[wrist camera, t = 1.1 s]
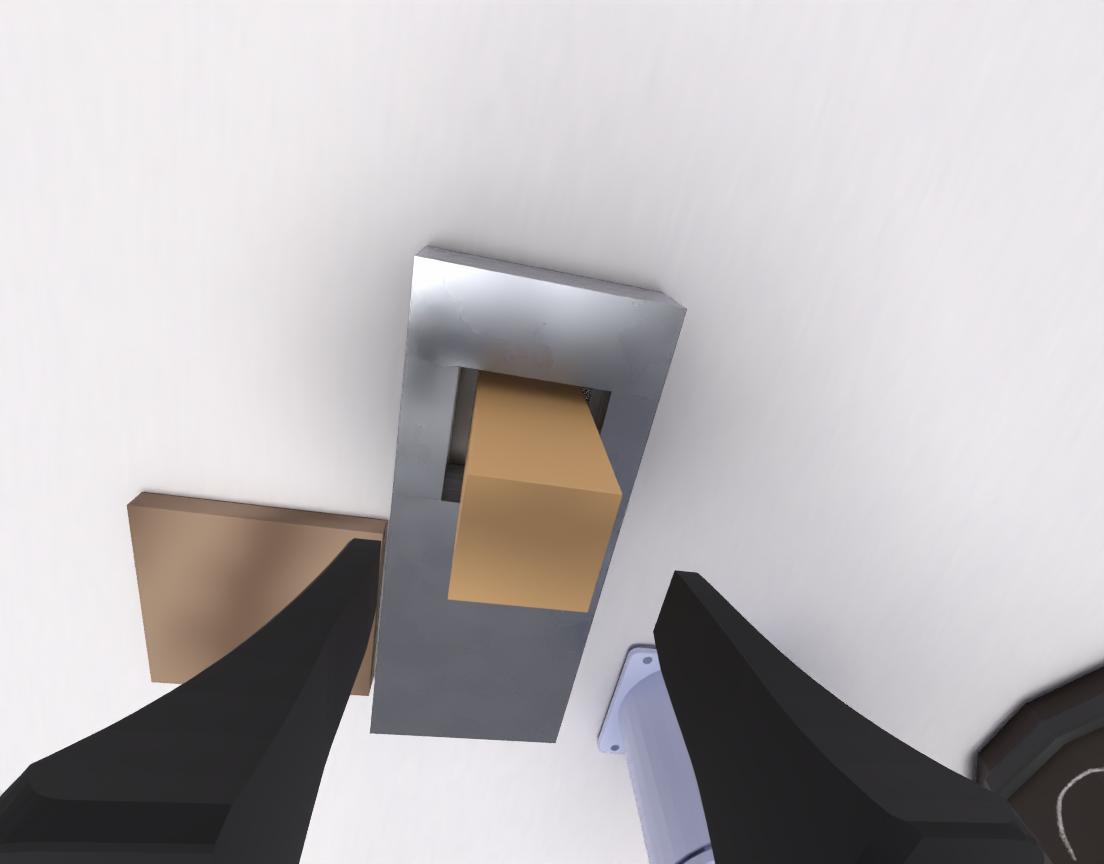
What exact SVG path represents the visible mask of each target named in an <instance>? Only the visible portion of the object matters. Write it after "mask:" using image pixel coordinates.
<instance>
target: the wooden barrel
mask: <svg viewBox="0 0 1104 864" xmlns="http://www.w3.org/2000/svg"><path fill="white" fill-rule="evenodd" d="M976 783H977V784H979V785H981V786H983V787H985V788H987V789H988V790H990V791H992V792H994V793H996V794H998V795H1000V796H1002V797H1003V798H1004V799H1005V800H1006V801H1007V803H1008V804H1009V805H1010V806H1011V808H1012V809H1013V810H1014V811H1015V813H1016V814H1017V815H1018V816H1019V817H1020V819H1021V820H1022V821H1023V822H1024V824H1025V825H1026V826H1027V827H1028V829H1029V830H1030V831H1031V832H1032V834H1033V835H1034V836H1035V837H1036V839H1037V840H1038V841H1039V842H1040V844H1041V845H1042V846H1043V849H1044V856H1045V859H1044V864H1104V667H1102V668H1100V669H1098V670H1096V671H1093V672H1091V673H1089V674H1087V675H1085V676H1083V677H1081V678H1079V679H1077V680H1075V681H1072V682H1070V683H1068V684H1066V685H1064V686H1062V687H1060V688H1058V689H1056V690H1054V691H1052V692H1049V693H1047V694H1045V695H1043V696H1041V697H1039V698H1037V699H1035V700H1033V701H1031V702H1028V703H1026V704H1025V705H1024V706H1023V707H1022V708H1021V709H1020V710H1019V711H1018V712H1017V713H1016V715H1015V716H1014V717H1013V718H1012V719H1011V720H1010V721H1009V722H1008V723H1007V724H1006V725H1005V726H1004V727H1003V728H1002V729H1001V730H1000V731H999V732H998V733H997V734H996V736H995V737H994V738H993V739H992V740H991V741H990V742H989V743H988V744H987V745H986V746H985V747H984V748H983V749H982V750H981V751H980V752H979V753H978V764H977V779H976Z"/></svg>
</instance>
